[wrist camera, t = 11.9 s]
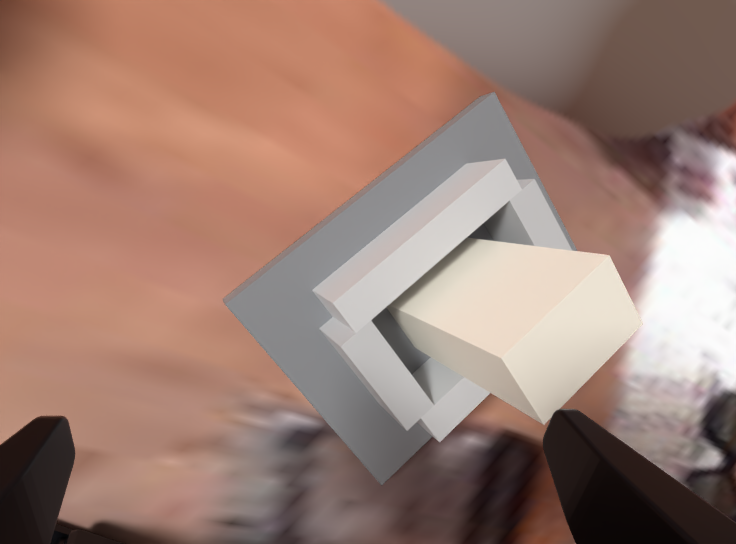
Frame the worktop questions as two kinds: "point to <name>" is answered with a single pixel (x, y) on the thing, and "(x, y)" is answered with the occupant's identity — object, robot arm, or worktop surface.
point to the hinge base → (334, 243)
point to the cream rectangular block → (519, 319)
